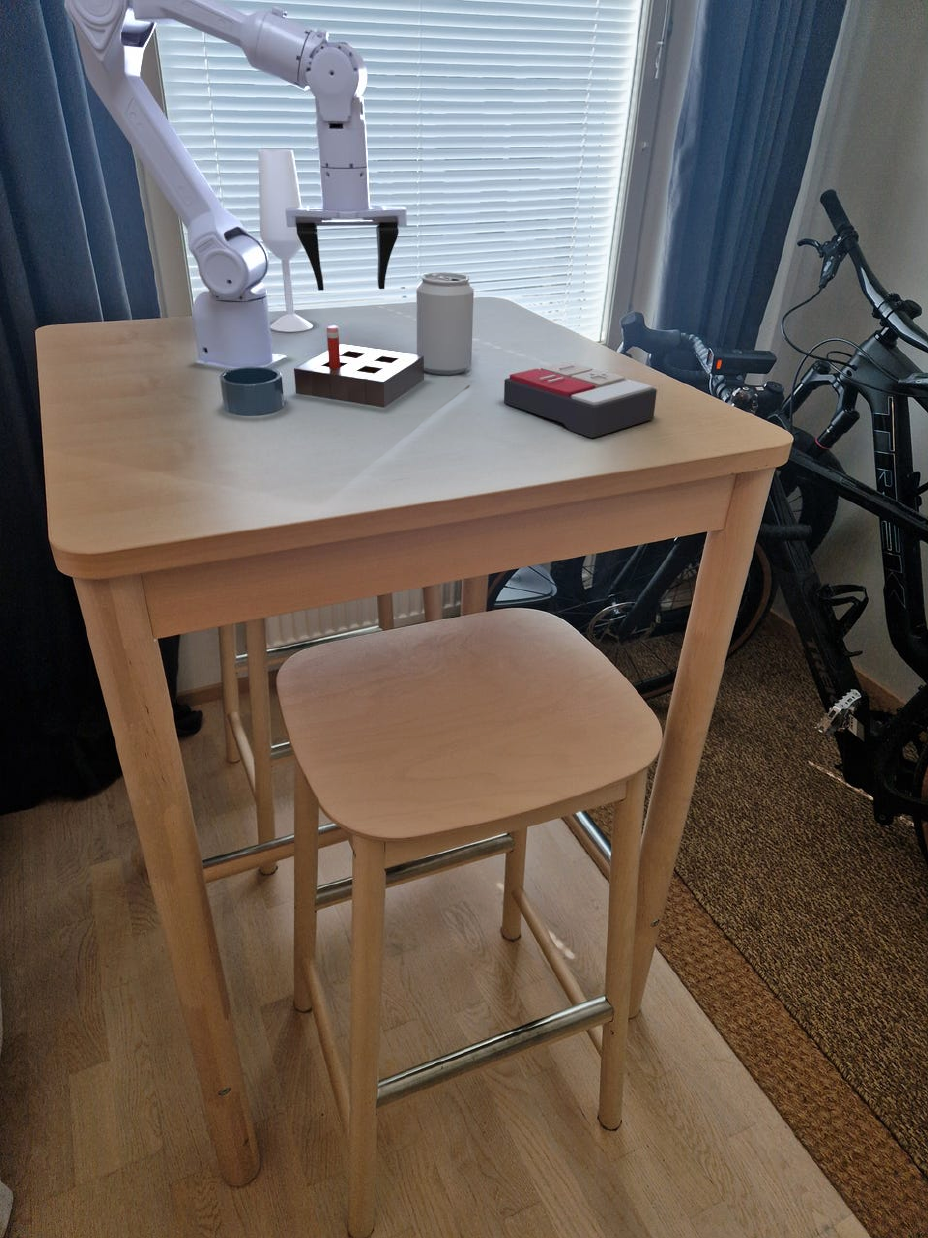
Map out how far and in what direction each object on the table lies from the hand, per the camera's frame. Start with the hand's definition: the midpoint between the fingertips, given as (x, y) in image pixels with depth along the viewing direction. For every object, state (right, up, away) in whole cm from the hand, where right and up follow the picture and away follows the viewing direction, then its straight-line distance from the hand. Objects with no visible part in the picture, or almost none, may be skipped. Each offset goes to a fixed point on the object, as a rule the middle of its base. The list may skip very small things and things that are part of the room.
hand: (351, 288), depth 102 cm
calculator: (+28, -17, -5) cm, 34 cm away
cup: (-10, -18, -8) cm, 22 cm away
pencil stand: (+2, -13, -1) cm, 13 cm away
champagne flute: (-13, +4, +24) cm, 27 cm away
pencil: (-2, -14, -2) cm, 14 cm away
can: (+12, -8, +8) cm, 16 cm away
